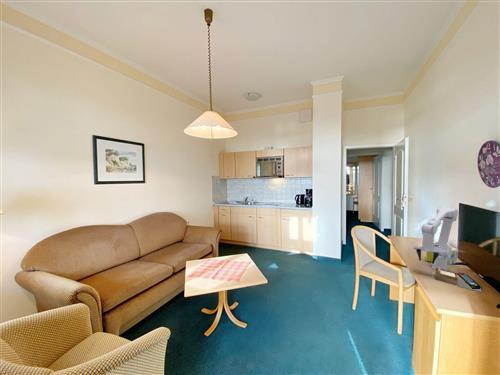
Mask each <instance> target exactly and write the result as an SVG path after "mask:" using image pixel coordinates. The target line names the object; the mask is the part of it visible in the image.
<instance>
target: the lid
mask: <svg viewBox="0 0 500 375" xmlns="http://www.w3.org/2000/svg"><path fill="white" fill-rule="evenodd" d="M438 273H441V274H445V275H449V276H453V277H455V274H454V273H450V272H446V271H442V270H441V268H440V267H438Z"/></svg>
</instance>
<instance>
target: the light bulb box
mask: <svg viewBox="0 0 500 375" xmlns="http://www.w3.org/2000/svg"><path fill="white" fill-rule="evenodd" d="M450 247H451V246H450ZM442 248H444V247H442ZM451 248H452V251H451V252H452V254H451V257H450V258H447V265H453V264H457V263H458V256H459V248H455V247H451ZM446 249H447V248H446Z"/></svg>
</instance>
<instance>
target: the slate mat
mask: <svg viewBox="0 0 500 375" xmlns="http://www.w3.org/2000/svg"><path fill="white" fill-rule="evenodd" d="M464 280H465V279H460V278H458V282H457V286H458V287H459V288H464V289H466V290H469V291H470V290H471V291H474V292H478V293H481V294H483V291H482V288H481V287H480V289H472V288H471V287H470V286H469V285H468V284H466V283H465V282H464Z"/></svg>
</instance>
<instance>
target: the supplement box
mask: <svg viewBox="0 0 500 375" xmlns="http://www.w3.org/2000/svg"><path fill="white" fill-rule="evenodd" d="M425 252H426V256H425V261H426V262H427V263H431V264H432V262H433V254H432V253H431V252H427V251H425Z"/></svg>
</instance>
